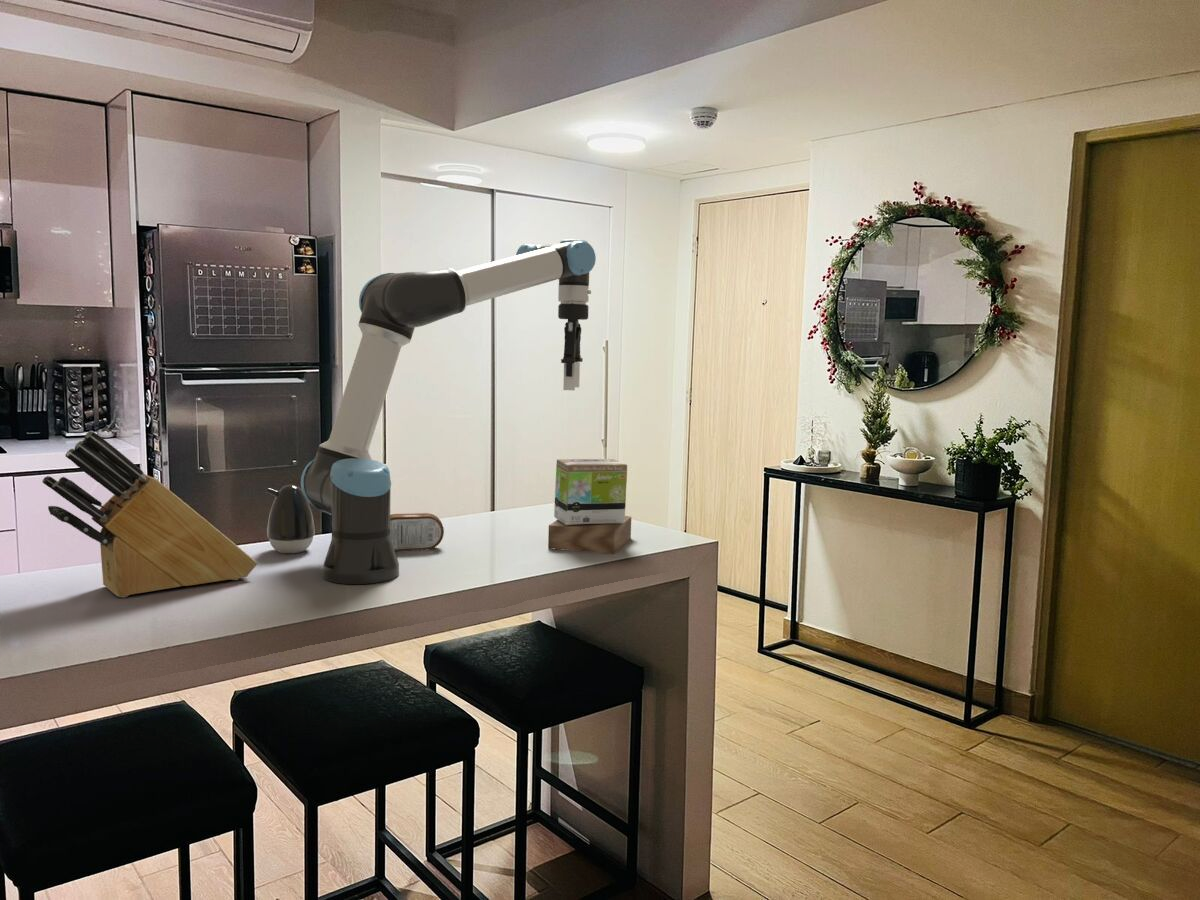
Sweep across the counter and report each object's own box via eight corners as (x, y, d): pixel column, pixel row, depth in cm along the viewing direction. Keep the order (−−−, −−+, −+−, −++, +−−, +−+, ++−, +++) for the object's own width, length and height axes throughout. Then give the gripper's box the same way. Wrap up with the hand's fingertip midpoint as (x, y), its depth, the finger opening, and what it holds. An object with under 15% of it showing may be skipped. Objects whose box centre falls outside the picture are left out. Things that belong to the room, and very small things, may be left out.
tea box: (566, 526, 218) (568, 464, 216) (553, 518, 227) (554, 458, 225) (626, 523, 223) (628, 462, 221) (611, 515, 232) (612, 457, 230)
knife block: (45, 594, 172) (37, 428, 168) (238, 567, 195) (235, 420, 191) (58, 608, 163) (50, 434, 160) (258, 578, 186) (255, 425, 182)
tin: (442, 546, 218) (442, 511, 217) (444, 549, 215) (445, 514, 214) (377, 549, 214) (377, 513, 213) (378, 553, 211) (378, 516, 210)
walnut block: (548, 550, 219) (548, 525, 219) (569, 534, 237) (569, 511, 236) (613, 555, 216) (614, 530, 215) (630, 540, 233) (631, 516, 232)
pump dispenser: (273, 545, 215) (271, 480, 213) (319, 546, 216) (318, 481, 214) (261, 556, 205) (259, 488, 203) (309, 556, 206) (308, 488, 204)
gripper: (584, 301, 219) (582, 392, 221) (592, 305, 243) (589, 386, 246) (553, 301, 219) (551, 391, 222) (563, 304, 244) (561, 385, 246)
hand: (571, 388), depth 234 cm, fingers open, 13 cm apart
